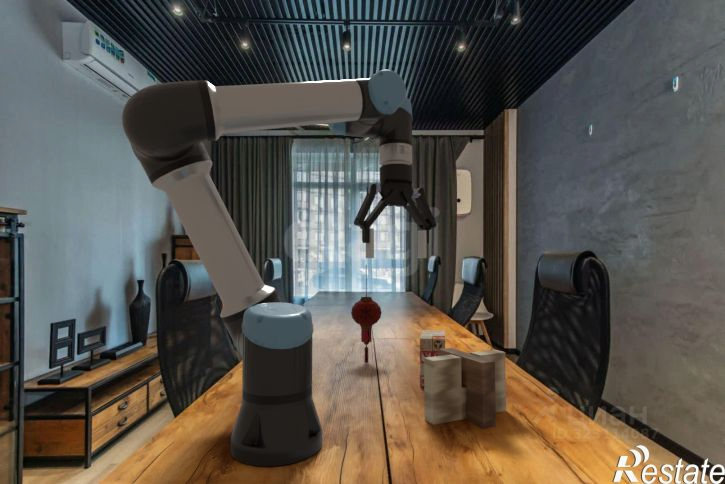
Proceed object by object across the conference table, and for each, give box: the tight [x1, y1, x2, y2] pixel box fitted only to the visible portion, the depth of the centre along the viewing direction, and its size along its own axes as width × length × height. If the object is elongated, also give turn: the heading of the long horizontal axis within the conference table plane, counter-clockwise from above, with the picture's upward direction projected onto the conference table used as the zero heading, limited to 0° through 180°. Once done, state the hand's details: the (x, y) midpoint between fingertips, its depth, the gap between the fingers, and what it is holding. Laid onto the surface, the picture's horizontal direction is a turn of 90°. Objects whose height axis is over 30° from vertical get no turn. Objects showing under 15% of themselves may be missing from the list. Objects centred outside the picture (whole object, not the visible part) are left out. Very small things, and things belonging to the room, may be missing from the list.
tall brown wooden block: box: [439, 347, 497, 429], centre depth 86 cm, size 3×14×12 cm, turn 24°
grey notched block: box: [423, 349, 507, 426], centre depth 86 cm, size 18×3×12 cm, turn 115°
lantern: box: [350, 264, 382, 363], centre depth 132 cm, size 10×10×30 cm
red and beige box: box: [419, 329, 446, 388], centre depth 115 cm, size 21×6×12 cm, turn 169°
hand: (396, 258), depth 97 cm, fingers open, 13 cm apart
